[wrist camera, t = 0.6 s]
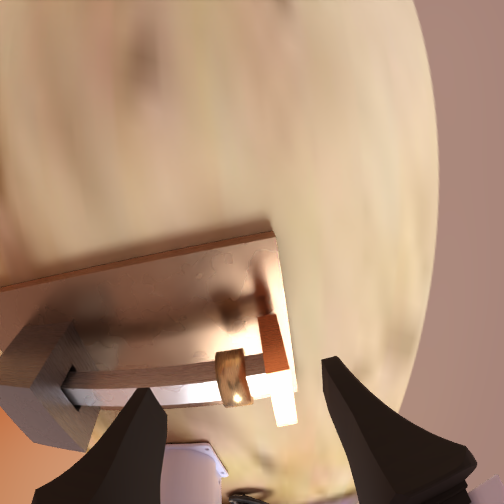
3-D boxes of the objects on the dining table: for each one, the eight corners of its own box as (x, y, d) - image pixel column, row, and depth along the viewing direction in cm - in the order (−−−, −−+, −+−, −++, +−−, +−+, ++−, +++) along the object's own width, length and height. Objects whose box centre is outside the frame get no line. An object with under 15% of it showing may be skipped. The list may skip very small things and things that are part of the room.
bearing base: (273, 230, 19) (303, 302, 11) (295, 381, 24) (315, 463, 16) (-21, 292, 19) (-71, 341, 11) (43, 397, 24) (17, 453, 16)
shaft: (276, 313, 18) (289, 369, 14) (285, 368, 20) (297, 422, 16) (36, 344, 18) (9, 384, 14) (64, 387, 20) (45, 428, 16)
